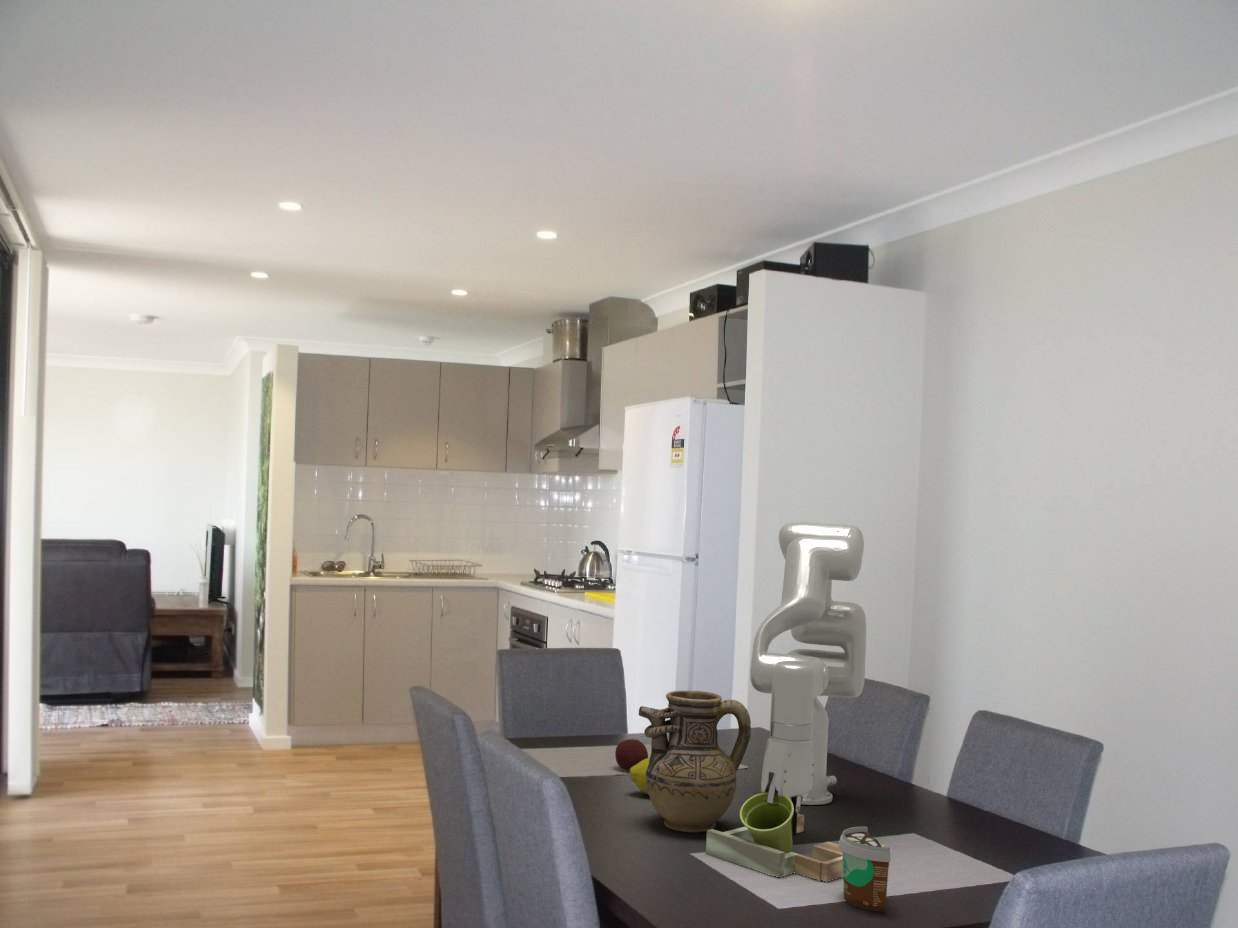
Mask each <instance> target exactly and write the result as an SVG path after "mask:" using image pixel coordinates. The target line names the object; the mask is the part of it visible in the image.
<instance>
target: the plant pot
mask: <svg viewBox="0 0 1238 928" xmlns="http://www.w3.org/2000/svg"><path fill="white" fill-rule="evenodd" d="M768 794H769V792H765V793H762V792H761V793H758V794H755V795H752V796H751V797H749V798H748V799H747V800H745V802H744V803H743V804H742V806H741V807H740V810H739V819H740V820H741V824H742V825H744V827H747V828H748V830H749V831H750V833H751V835H752V838H753V840H754V842H755V843H757V844H761V845H764V846H767V847H770V848H773V849H776V850H779V851H782V852H785V854H786V853H790V852H792V850H793V836H792V828H791V820H792V816H793V813H794V806H793V803H792V801H791V800H790V799H789V798H788V797H787V796H784V798H783V799H780V798H779V796H778V800H779V806H773V805H770V804H767V799H768ZM777 795H778V794H777Z"/></svg>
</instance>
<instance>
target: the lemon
mask: <svg viewBox="0 0 1238 928" xmlns="http://www.w3.org/2000/svg"><path fill="white" fill-rule="evenodd" d="M649 760H650V757H648V758H647V759H644V760H642V761H641V762H639V763H638V764H636V765H634V766H633V767H631V768H630V771H629V775H630V777H629V778H630V781H632V782H633V783H634V784H635V786H636V787H637V789H639V790H640V791H641V792H642V793H645V794H647V795H649V793H648V789H647V786H646V770H647V767H648V765H649Z"/></svg>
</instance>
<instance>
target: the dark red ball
mask: <svg viewBox="0 0 1238 928" xmlns="http://www.w3.org/2000/svg"><path fill="white" fill-rule="evenodd" d="M614 753H615V754H614V755H615V761H616V765H618V766H619V768H621V769H622V770H625V771H628V770H629V771H628V772H630V768H631V767H633V766H634V765H636V764H638V763H639V762H641V761H642V760H644V759H647V758H649V752H648V750H647V748H646V745H645V744H644V743H643V742H642V741H641V740H639V739H634V738H632V739H631V738H630V739H624V740H622V741H621V742H619V743H618V744H617V746H616V748H615V752H614Z"/></svg>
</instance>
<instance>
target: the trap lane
mask: <svg viewBox="0 0 1238 928" xmlns="http://www.w3.org/2000/svg"><path fill="white" fill-rule="evenodd" d="M804 827H805V815H804V814H800V813H797V833H796V834H798V833H803V832H804V830H805V829H804ZM705 844H706V845H705V854H707V855H709V856H712V857H715V858H717V859H721V860H723V861H727V862H729V861H730V863H733V864H735V863H736V864H735V865H738V866H741V865H743V866H742V867H744V866H746V867H745V868H747V867H748V869H750V868H752V869H751V870H753V869H754V870H753V871H756V870H758V871H760V872H759V873H761V872H764V873H767V874H770V875H774V876H776V877H781V876H783V875H787V876H789V875H788V874H791V873H794V872H795V873H794V874H796V873H797V875H799V874H801V875H800V876H802V875H805V876H807V877H806V878H808V877H811V878H813V879H812V880H814V879H817V880H823V881H829V880H832V879H835V878H838V877H841V878H843V877H842V876H843V851H842V850H841V849H840V848H839V846H838V845H839V843H834V842H831V841H825V842H823V843H822V842H821V843H818V844H815V845H812V857H809V856H806V855H803V854H800V853H796V852H794V851H791V852H790V853H786V854H785V852H782V851H779V850H776V849H773V848H770V847H767V846H764V845H761V844H757V843H755V842H754V840H753V838H752V835H751V833H750V831H749V830H748V828H747V827H746V826H742V827H737V828H734V829H730V830H726V831H720V830H717V829H715V828H713V829H711V830H707V831H706V843H705ZM880 845H881V846H882V847H886V845H885V844H882V843H880ZM758 871H757V872H758ZM764 873H763V874H764ZM767 874H766V875H767ZM770 875H769V876H770ZM791 875H792V874H791ZM805 876H804V877H805ZM776 877H775V878H776ZM781 878H782V877H781ZM811 878H810V879H811ZM838 879H839V878H838ZM817 880H816V881H817ZM835 880H836V879H835ZM823 881H822V882H823ZM832 881H833V880H832ZM829 882H830V881H829Z"/></svg>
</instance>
